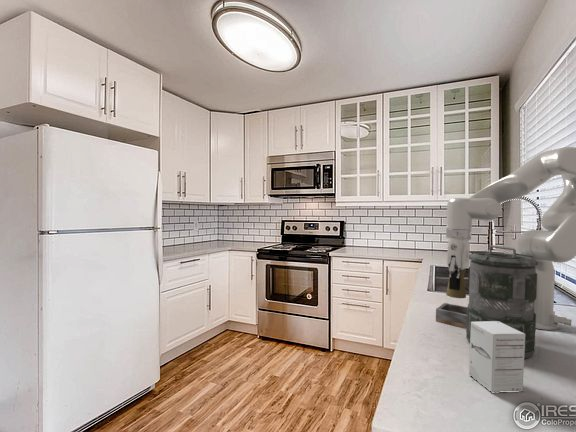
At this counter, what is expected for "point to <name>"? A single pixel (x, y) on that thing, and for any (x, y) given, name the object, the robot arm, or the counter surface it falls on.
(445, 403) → the counter surface
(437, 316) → the grey square tray
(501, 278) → the canister
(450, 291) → the olive tall flared cylinder
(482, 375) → the supplement box
